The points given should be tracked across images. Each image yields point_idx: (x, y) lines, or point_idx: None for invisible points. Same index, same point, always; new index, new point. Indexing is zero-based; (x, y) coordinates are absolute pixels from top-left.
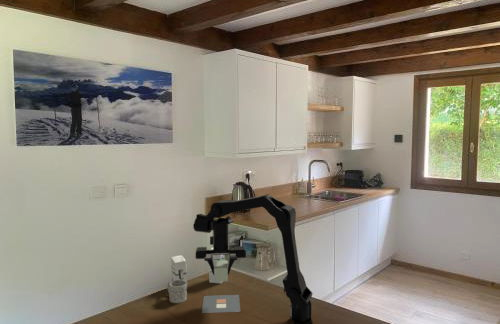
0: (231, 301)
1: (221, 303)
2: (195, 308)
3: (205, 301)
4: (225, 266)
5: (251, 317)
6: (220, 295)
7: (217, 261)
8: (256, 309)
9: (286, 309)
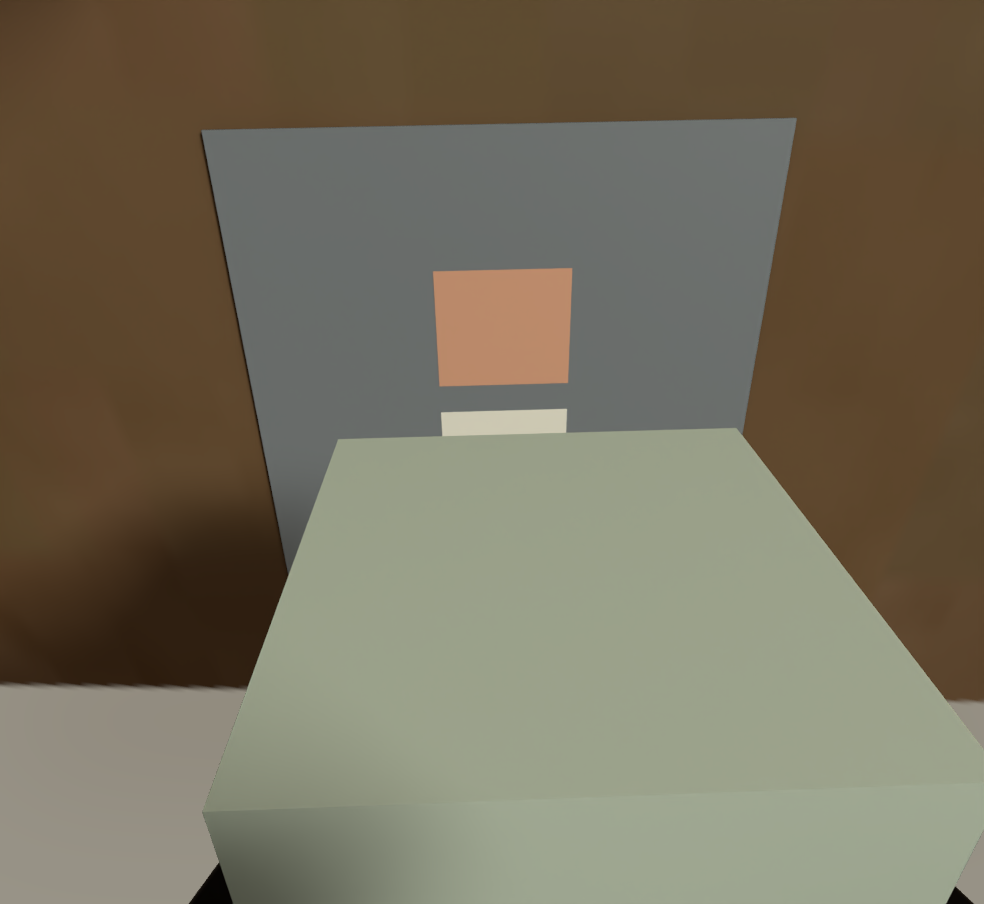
0: (645, 351)
1: (506, 399)
2: (190, 497)
3: (275, 335)
4: None
5: None
6: (485, 128)
7: (391, 861)
8: (903, 540)
9: None
